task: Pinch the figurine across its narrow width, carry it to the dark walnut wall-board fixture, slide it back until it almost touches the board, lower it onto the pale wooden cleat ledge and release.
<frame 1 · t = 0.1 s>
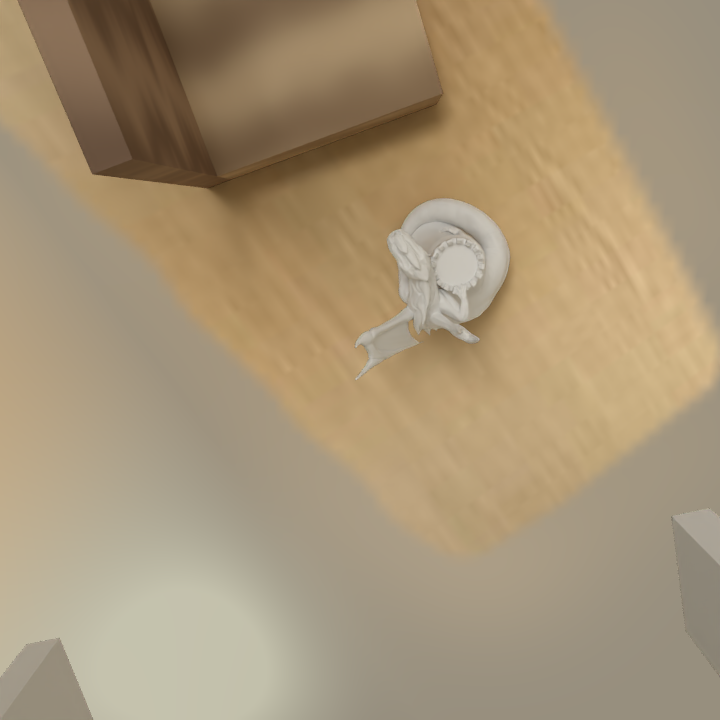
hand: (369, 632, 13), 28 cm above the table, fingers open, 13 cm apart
figurine: (420, 276, 39), on the table
wall shelf: (265, 21, 35), on the table
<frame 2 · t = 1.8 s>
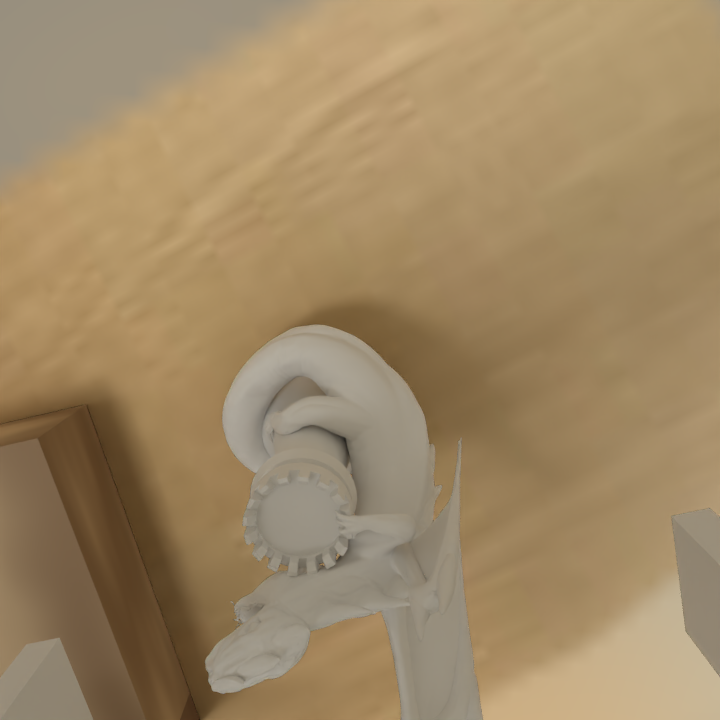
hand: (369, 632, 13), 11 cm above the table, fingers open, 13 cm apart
figurine: (356, 445, 23), on the table
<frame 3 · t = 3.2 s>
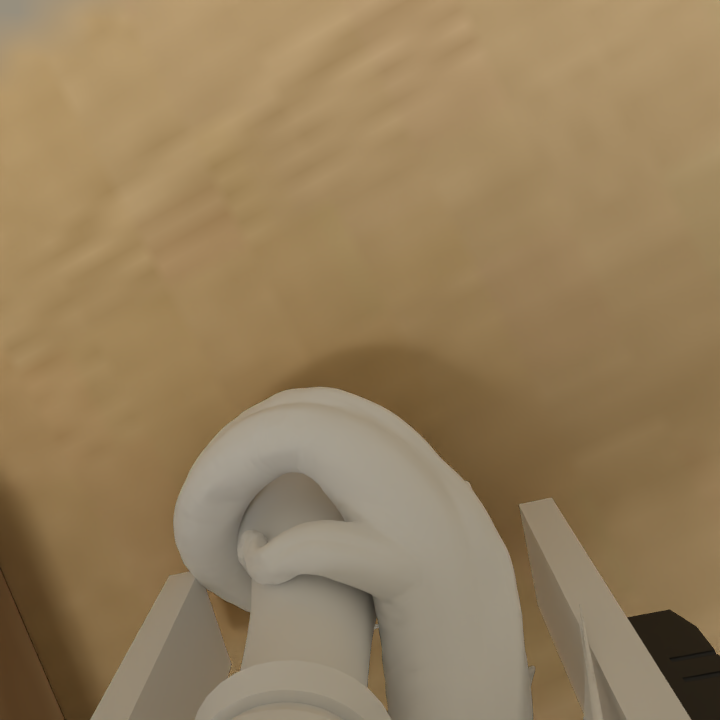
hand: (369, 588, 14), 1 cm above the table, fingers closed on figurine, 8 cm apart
figurine: (383, 552, 16), on the table, touching gripper
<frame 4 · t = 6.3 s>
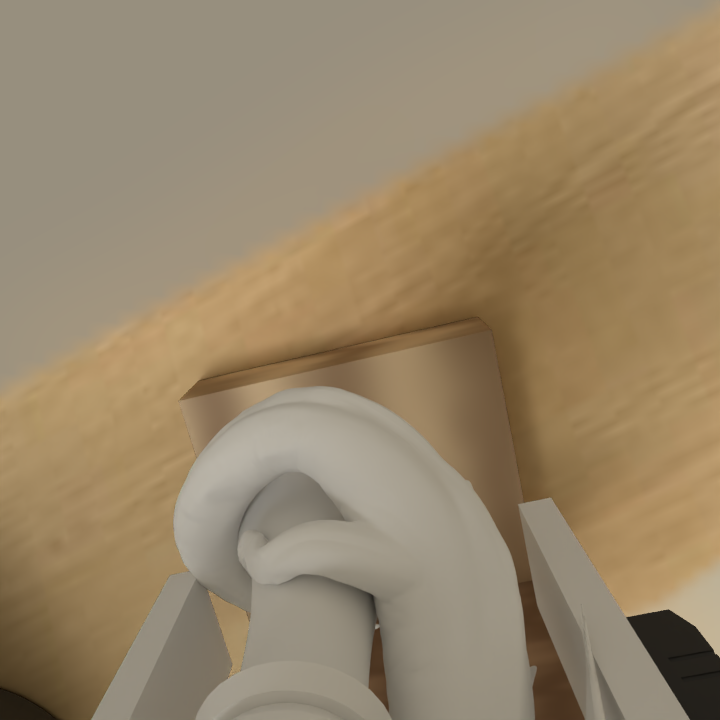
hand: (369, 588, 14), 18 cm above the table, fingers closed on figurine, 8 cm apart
figurine: (383, 551, 15), point 17 cm above the table, touching gripper
wall shelf: (370, 487, 33), on the table
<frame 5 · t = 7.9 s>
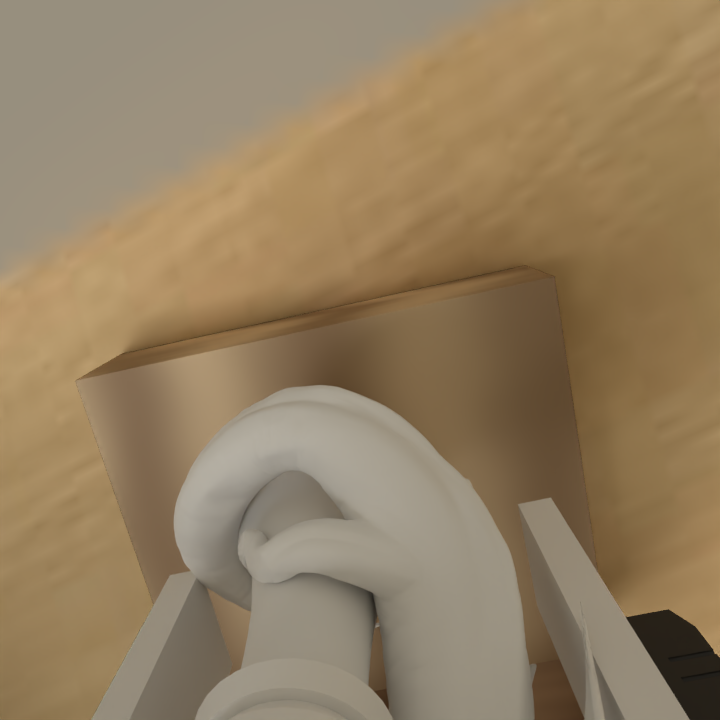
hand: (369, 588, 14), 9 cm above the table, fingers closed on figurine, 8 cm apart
figurine: (383, 550, 16), point 8 cm above the table, touching gripper
wall shelf: (366, 509, 24), on the table
when the fingers open (6 cm above the table, at t = 9.4 s): figurine stays where it is, resting on wall shelf.
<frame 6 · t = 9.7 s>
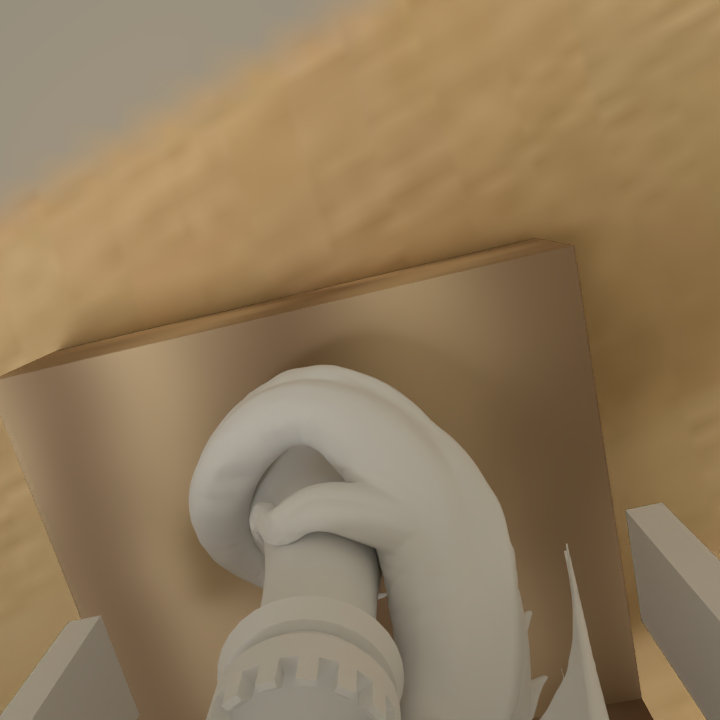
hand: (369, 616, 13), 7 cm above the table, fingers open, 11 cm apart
figurine: (387, 527, 16), point 3 cm above the table, touching wall shelf
wall shelf: (350, 529, 20), on the table
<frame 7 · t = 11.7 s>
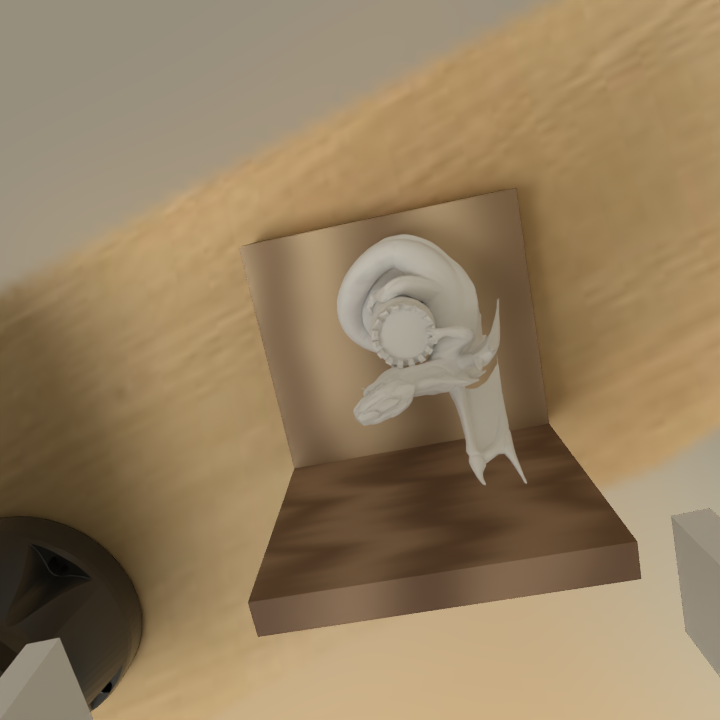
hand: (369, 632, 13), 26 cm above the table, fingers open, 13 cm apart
figurine: (424, 326, 34), point 3 cm above the table, touching wall shelf
wall shelf: (401, 347, 37), on the table
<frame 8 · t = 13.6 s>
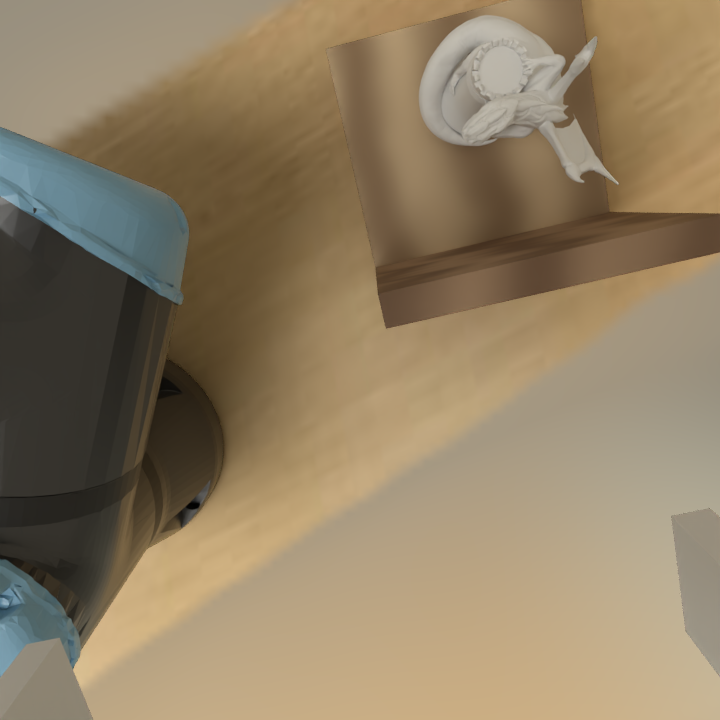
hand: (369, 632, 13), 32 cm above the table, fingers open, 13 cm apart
figurine: (495, 122, 37), point 3 cm above the table, touching wall shelf
wall shelf: (466, 160, 41), on the table
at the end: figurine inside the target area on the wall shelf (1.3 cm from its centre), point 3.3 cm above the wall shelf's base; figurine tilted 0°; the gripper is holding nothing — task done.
